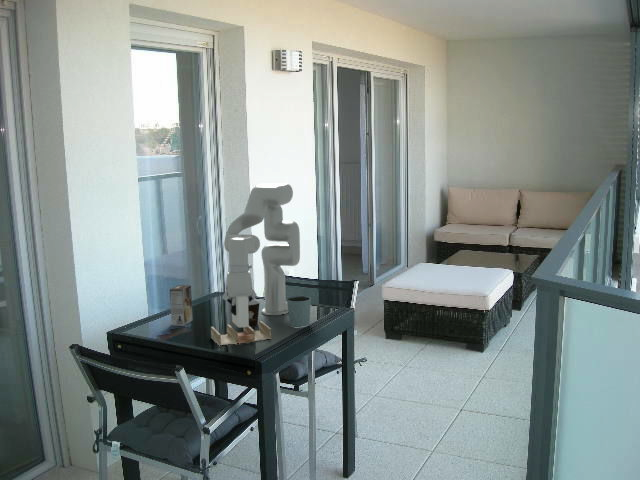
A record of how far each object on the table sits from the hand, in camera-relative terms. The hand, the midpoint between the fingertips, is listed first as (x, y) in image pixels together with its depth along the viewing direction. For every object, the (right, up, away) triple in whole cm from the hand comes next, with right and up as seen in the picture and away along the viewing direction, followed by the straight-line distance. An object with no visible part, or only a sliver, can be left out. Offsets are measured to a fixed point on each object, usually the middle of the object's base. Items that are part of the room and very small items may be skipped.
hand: (240, 313), depth 275 cm
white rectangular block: (0, -4, +1) cm, 4 cm away
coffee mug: (0, -8, +22) cm, 23 cm away
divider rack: (0, -10, +2) cm, 10 cm away
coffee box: (-28, -7, +27) cm, 40 cm away
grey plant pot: (+23, -8, +19) cm, 31 cm away
